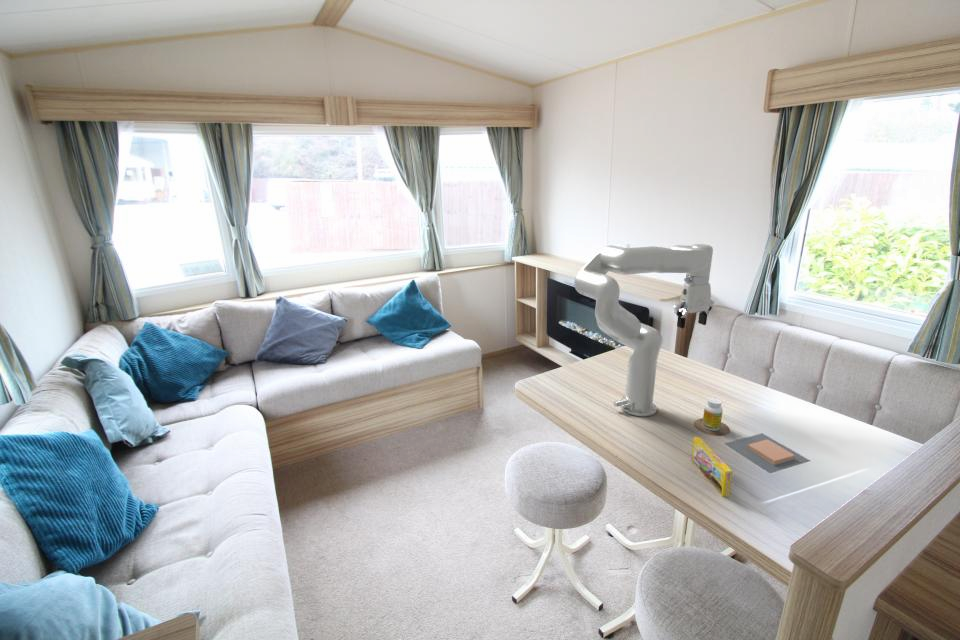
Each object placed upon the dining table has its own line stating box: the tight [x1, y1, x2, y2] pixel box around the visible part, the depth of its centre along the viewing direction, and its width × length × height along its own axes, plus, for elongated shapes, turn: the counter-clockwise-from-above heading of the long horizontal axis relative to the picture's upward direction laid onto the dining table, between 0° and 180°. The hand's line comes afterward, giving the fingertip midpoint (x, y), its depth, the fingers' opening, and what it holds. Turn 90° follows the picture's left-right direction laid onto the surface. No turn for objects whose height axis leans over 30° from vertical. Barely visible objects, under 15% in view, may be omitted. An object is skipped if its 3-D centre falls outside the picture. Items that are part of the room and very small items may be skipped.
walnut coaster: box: [693, 418, 731, 437], centre depth 154 cm, size 11×11×1 cm
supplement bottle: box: [702, 397, 724, 431], centre depth 152 cm, size 5×5×10 cm
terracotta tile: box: [747, 439, 795, 466], centre depth 138 cm, size 8×2×9 cm
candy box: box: [691, 436, 733, 498], centre depth 128 cm, size 16×2×8 cm, turn 5°
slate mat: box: [723, 433, 811, 474], centre depth 139 cm, size 16×16×1 cm
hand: (691, 325), depth 167 cm, fingers open, 9 cm apart
